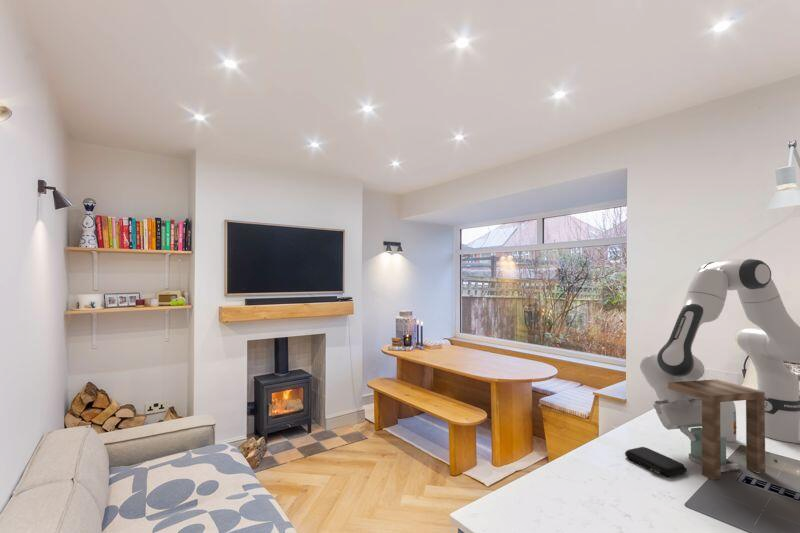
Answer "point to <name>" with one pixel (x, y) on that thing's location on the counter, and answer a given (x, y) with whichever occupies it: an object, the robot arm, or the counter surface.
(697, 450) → the sage rectangular block
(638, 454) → the carrying case or bag
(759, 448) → the walnut overhang shelf
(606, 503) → the counter surface
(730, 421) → the milk bottle
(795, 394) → the robot arm
